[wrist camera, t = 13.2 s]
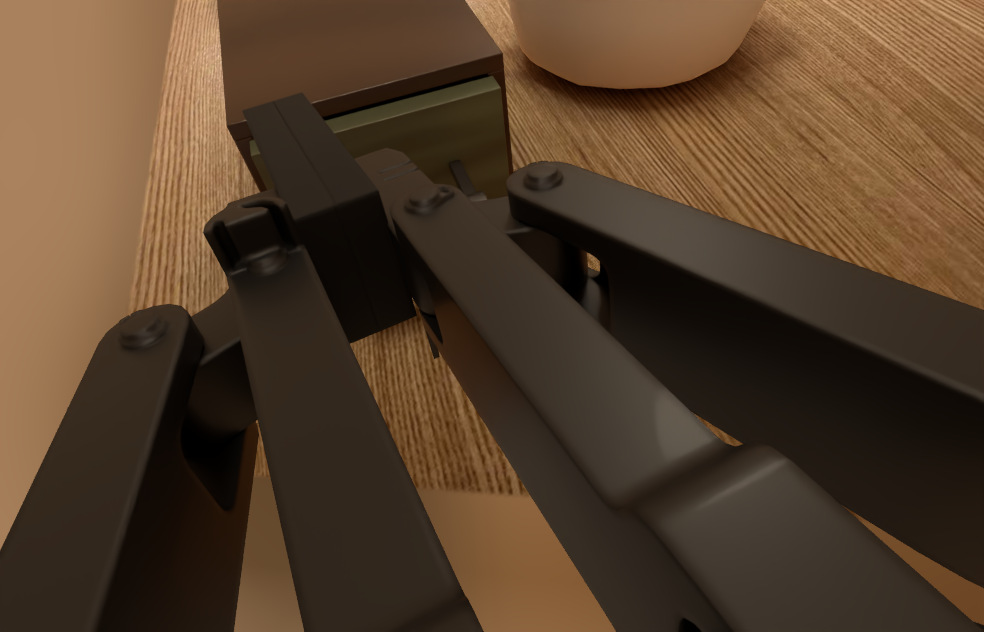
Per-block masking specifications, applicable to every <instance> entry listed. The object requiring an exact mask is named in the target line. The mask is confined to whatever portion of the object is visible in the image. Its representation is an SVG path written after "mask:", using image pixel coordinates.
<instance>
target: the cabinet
mask: <svg viewBox="0 0 984 632" xmlns="http://www.w3.org/2000/svg"><path fill="white" fill-rule="evenodd" d="M217 4H218V17H219V30H220V43H221V56H222V70H223V83H224V96H225V109H226V122H227V128H228V130H229V132H230V134H231V136H232V138H233V140H234V141H235V143H236V145H237V147H238V149H239V151H240V153H241V155H242V157H243V159H244V161H245V163H246V165H247V167H248V169H249V171H250V173H251V175H252V177H253V179H254V181H255V183H256V185H257V187H258V189H259V191H260V192H263V191H266V190H267V188H266V186H265V184H264V182H263V180H262V177H261V175H260V173H259V171H258V169H257V167H256V165H255V163H254V161H253V159H252V157H251V152H250V143H249V141H251V140H254V138H253V136H252V133H251V131H250V128H249V126H248V124H247V121H246V119H245V117H244V114H243V112H242V110H245V109H248V108H252V107H255V106H258V105H262V104H265V103H268V102H271V101H275V100H278V99H281V98H285V97H288V96H291V95H294V94H298V93H301V92H302V93H303V94H304V95H305V96H306V98H307V99H308V100H309V102H310V103H311V104H312V105H313V107H314V108H315V109H316V111H317V112H318V113H319V114H320V116H321V117H326V116H329V115H333V114H337V113H341V112H344V111H348V110H352V109H355V108H359V107H363V106H367V105H370V104H374V103H378V102H382V101H385V100H389V99H393V98H397V97H400V96H404V95H408V94H412V93H415V92H419V91H423V90H426V89H430V88H434V87H438V86H441V85H445V84H449V83H453V82H456V81H460V80H464V79H468V78H471V77H472V81H475V80H478V79H482V78H486V77H490V76H493V77H494V79H495V80H496V82H497V83H498V85H499V86H500V88H501V96H502V106H503V117H504V127H505V137H506V148H507V158H508V168H509V176H510V175H511V174H512V173H513V164H512V153H511V142H510V131H509V120H508V108H507V97H506V86H505V75H504V64H503V53H502V52H501V50H500V49H499V47H498V46H497V45H496V43H495V42H494V40H493V39H492V38H491V36H490V35H489V34H488V32H487V31H486V29H485V28H484V27H483V25H482V24H481V22H480V21H479V20H478V18H477V17H476V15H475V14H474V13H473V11H472V10H471V8H470V7H469V6H468V4H467V3H466V1H465V0H217Z"/></svg>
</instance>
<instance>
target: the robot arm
mask: <svg viewBox="0 0 984 632" xmlns="http://www.w3.org/2000/svg"><path fill="white" fill-rule="evenodd" d="M242 112H243V114H244V117H245V119H246V121H247V124H248V126H249V128H250V131H251V133H252V136H253V138H254V140H255V143H256V145H257V147H258V150H259V152H260V154H261V157H262V159H263V161H264V164H265V166H266V168H267V171H268V173H269V175H270V178H271V180H272V182H273V185H274V187H275V188H272V189H269V190H266V191H263V192H260V193H257V194H254V195H251V196H248V197H246V198H243V199H240V200H237V201H234V202H231V203H228V205H227V207H226V208H225V209H224V210H222V211H221V212H219V213H218V214H216V215H214V216H213V217H212V218H211V219H210V220H209V221H208V222H207V224H206V225H205V228H204V232H203V233H204V235H205V237H206V239H207V241H208V243H209V245H210V246H211V248H212V250H213V252H214V254H215V256H216V258H217V259H218V261H219V263H220V265H221V267H222V269H223V271H224V272H225V274H226V276H227V281H228V286H229V289H228V290H227V292H226V293H225V294H224V295H223V296H222V297H221V298H219V299H218V300H217V301H216V302H214V303H213V304H211V305H210V306H208V307H207V308H205V309H204V310H202V311H200V312H198V313H197V314H195V315H193V316H192V317H191V316H190V315H189V313H188V312H187V311H186V310H185V309H184V308H183V307H182V306H178V305H172V304H166V305H159V306H153V307H150V308H147V309H144V310H139V311H136V312H134V313H132V314H131V316H129V315H128V316H126V317H125V318H123V319H122V320H120V321H119V323H118V324H116V325H115V326H114V327H113V328H111V329H110V330H109V331H108V332H107V333H106V334H105V336H104V337H103V338H102V340H101V341H100V342H99V344H98V346H97V348H96V350H95V353H94V354H93V357H92V359H91V361H90V363H89V365H88V367H87V370H86V371H85V374H84V376H83V378H82V380H81V382H80V384H79V386H78V388H77V390H76V392H75V394H74V397H73V399H72V401H71V403H70V405H69V407H68V409H67V412H66V414H65V416H64V418H63V420H62V422H61V424H60V426H59V428H58V430H57V432H56V435H55V437H54V439H53V441H52V443H51V445H50V447H49V449H48V451H47V454H46V455H45V458H44V460H43V462H42V464H41V466H40V468H39V470H38V472H37V474H36V477H35V479H34V481H33V483H32V485H31V487H30V489H29V491H28V493H27V495H26V498H25V500H24V502H23V504H22V506H21V508H20V510H19V513H18V514H17V517H16V519H15V521H14V523H13V525H12V527H11V529H10V532H9V533H8V535H7V538H6V540H5V542H4V544H3V546H2V548H1V550H0V632H234V625H235V617H236V609H237V601H238V594H239V586H240V578H241V570H242V562H243V554H244V546H245V538H246V531H247V523H248V515H249V507H250V499H251V492H252V484H253V476H254V468H255V460H256V452H257V445H258V437H259V433H258V426H257V424H256V422H255V421H256V420H258V422H259V427H260V431H261V436H262V441H263V445H264V450H265V454H266V459H267V463H268V468H269V472H270V477H271V481H272V485H273V490H274V495H275V500H276V504H277V508H278V513H279V517H280V523H281V527H282V532H283V536H284V541H285V545H286V550H287V554H288V559H289V563H290V568H291V572H292V577H293V582H294V586H295V591H296V595H297V600H298V604H299V609H300V614H301V618H302V623H303V627H304V632H484V631H483V630H482V627H481V625H480V623H479V621H478V619H477V617H476V614H475V612H474V610H473V608H472V606H471V604H470V603H469V600H468V599H467V597H466V596H465V594H464V592H463V590H462V588H461V586H460V584H459V582H458V580H457V578H456V575H455V573H454V571H453V569H452V567H451V565H450V562H449V560H448V558H447V556H446V554H445V551H444V549H443V547H442V545H441V543H440V540H439V538H438V536H437V534H436V532H435V530H434V527H433V525H432V523H431V521H430V519H429V517H428V514H427V512H426V510H425V508H424V505H423V503H422V501H421V499H420V497H419V495H418V492H417V490H416V488H415V486H414V484H413V481H412V479H411V477H410V475H409V473H408V471H407V468H406V466H405V464H404V462H403V460H402V457H401V455H400V453H399V451H398V449H397V446H396V444H395V442H394V440H393V438H392V436H391V433H390V431H389V429H388V427H387V425H386V422H385V420H384V418H383V416H382V414H381V412H380V409H379V407H378V405H377V403H376V401H375V398H374V396H373V394H372V392H371V390H370V388H369V385H368V383H367V381H366V379H365V377H364V374H363V372H362V370H361V368H360V366H359V363H358V361H357V359H356V357H355V355H354V353H353V350H352V348H351V346H350V343H352V342H355V341H357V340H360V339H362V338H365V337H367V336H369V335H372V334H374V333H377V332H379V331H381V330H384V329H386V328H389V327H391V326H393V325H396V324H398V323H401V322H403V321H405V320H408V319H410V318H413V317H415V316H417V314H416V310H415V307H414V304H413V301H412V298H413V300H414V301H415V303H416V304H417V306H418V307H419V310H420V314H421V317H422V320H423V323H424V327H425V330H426V333H427V337H428V340H429V343H430V347H431V350H432V353H433V356H434V359H435V358H437V357H440V356H439V352H440V353H441V355H442V356H443V358H444V360H445V361H446V363H447V364H448V366H449V368H450V369H451V371H452V372H453V374H454V375H455V377H456V379H457V380H458V382H459V383H460V385H461V386H462V388H463V390H464V391H465V393H466V394H467V396H468V398H469V399H470V401H471V402H472V404H473V405H474V407H475V409H476V410H477V412H478V413H479V415H480V417H481V418H482V420H483V421H484V423H485V424H486V426H487V428H488V429H489V431H490V432H491V434H492V435H493V437H494V439H495V440H496V442H497V443H498V445H499V447H500V448H501V450H502V451H503V453H504V454H505V456H506V458H507V459H508V461H509V462H510V464H511V465H512V467H513V469H514V470H515V472H516V473H517V475H518V477H519V478H520V480H521V481H522V483H523V484H524V486H525V488H526V489H527V491H528V492H529V494H530V495H531V497H532V499H533V500H534V502H535V503H536V505H537V506H538V508H539V510H540V511H541V513H542V514H543V516H544V518H545V519H546V521H547V522H548V524H549V525H550V527H551V529H552V530H553V532H554V533H555V535H556V536H557V538H558V540H559V541H560V543H561V544H562V546H563V548H564V549H565V551H566V552H567V554H568V556H569V557H570V559H571V560H572V562H573V563H574V565H575V566H576V568H577V570H578V571H579V573H580V574H581V576H582V577H583V579H584V581H585V582H586V584H587V586H588V587H589V589H590V590H591V592H592V593H593V595H594V596H595V598H596V600H597V601H598V603H599V604H600V606H601V608H602V609H603V611H604V612H605V614H606V616H607V617H608V619H609V620H610V622H611V623H612V625H613V627H614V629H615V630H616V632H984V625H981V624H979V623H976V622H973V621H972V620H971V619H969V618H968V617H967V616H966V615H965V614H964V613H962V612H961V611H960V610H959V609H958V608H957V607H956V606H955V605H954V604H952V603H951V602H950V601H949V600H948V599H947V598H946V597H945V596H944V595H942V594H941V593H940V592H939V591H938V590H937V589H936V588H934V587H933V586H932V585H931V584H930V583H929V582H928V581H927V580H925V579H924V578H923V577H922V576H921V575H920V574H919V573H918V572H916V571H915V570H914V569H913V568H912V567H911V566H910V565H909V564H907V563H906V562H905V561H904V560H903V559H902V558H900V557H899V556H898V555H897V554H896V553H895V552H894V551H893V550H892V549H890V548H889V547H888V546H887V545H886V544H885V543H884V542H883V541H881V540H880V539H879V538H878V537H877V536H876V535H875V534H874V533H872V532H871V531H870V530H869V529H868V528H867V527H866V526H865V525H863V524H862V523H861V522H860V521H859V520H858V519H857V518H856V517H854V516H853V515H852V514H851V513H850V512H849V511H848V510H847V509H845V508H844V507H843V506H845V507H846V508H848V509H849V510H851V511H853V512H854V513H856V514H857V515H859V516H861V517H862V518H864V519H866V520H867V521H869V522H870V523H872V524H874V525H875V526H877V527H878V528H880V529H882V530H883V531H885V532H887V533H888V534H890V535H892V536H893V537H895V538H896V539H898V540H899V541H901V542H903V543H904V544H906V545H908V546H909V547H911V548H913V549H914V550H916V551H917V552H919V553H921V554H923V555H924V556H926V557H928V558H930V559H931V560H933V561H935V562H937V563H938V564H940V565H942V566H943V567H945V568H947V569H949V570H950V571H952V572H954V573H956V574H958V575H959V576H961V577H963V578H965V579H966V580H968V581H971V582H973V583H974V584H977V585H979V586H981V587H983V588H984V310H982V309H979V308H976V307H973V306H971V305H968V304H965V303H962V302H959V301H956V300H954V299H951V298H948V297H945V296H942V295H939V294H937V293H934V292H931V291H928V290H925V289H923V288H920V287H917V286H914V285H911V284H908V283H906V282H903V281H900V280H897V279H894V278H891V277H889V276H886V275H883V274H880V273H877V272H874V271H872V270H869V269H866V268H863V267H860V266H857V265H855V264H852V263H849V262H846V261H843V260H840V259H838V258H835V257H832V256H829V255H826V254H823V253H821V252H818V251H815V250H812V249H809V248H806V247H804V246H801V245H798V244H795V243H792V242H789V241H787V240H784V239H781V238H778V237H775V236H773V235H770V234H767V233H764V232H761V231H758V230H756V229H753V228H750V227H747V226H744V225H741V224H739V223H736V222H733V221H730V220H727V219H724V218H722V217H719V216H716V215H713V214H710V213H707V212H705V211H702V210H699V209H696V208H693V207H690V206H688V205H685V204H682V203H679V202H676V201H673V200H671V199H668V198H665V197H662V196H659V195H656V194H654V193H651V192H648V191H645V190H642V189H639V188H637V187H634V186H631V185H628V184H625V183H623V182H620V181H617V180H614V179H611V178H608V177H606V176H603V175H600V174H597V173H594V172H591V171H589V170H586V169H583V168H580V167H577V166H574V165H572V164H568V163H563V162H548V161H539V162H538V163H536V162H535V163H531V164H528V166H525V167H523V168H520V169H518V170H517V171H515V172H514V173H512V174H511V175H510V176H509V178H508V179H507V181H506V187H507V193H508V196H505V197H499V198H494V199H489V200H482V201H471V200H470V199H469V198H468V197H467V196H466V195H465V194H464V193H463V192H462V191H461V190H460V189H458V188H456V187H454V186H452V185H446V184H434V183H433V182H432V181H431V180H430V179H429V178H428V177H427V176H426V175H425V174H424V173H423V172H422V171H421V170H420V169H418V167H417V166H416V165H415V164H414V163H413V162H412V161H411V160H410V159H409V158H408V157H407V156H406V155H405V154H404V153H403V152H400V151H397V150H393V149H390V148H384V149H381V150H378V151H375V152H372V153H369V154H366V155H364V156H361V157H358V158H355V159H354V158H353V157H352V155H351V154H350V153H349V152H348V150H347V149H346V148H345V146H344V145H343V144H342V143H341V141H340V140H339V139H338V138H337V136H336V135H335V134H334V132H333V131H332V130H331V129H330V127H329V126H328V125H327V123H326V122H325V121H324V120H323V118H322V117H321V116H320V114H319V113H318V112H317V111H316V109H315V108H314V107H313V105H312V104H311V103H310V102H309V100H308V99H307V98H306V96H305V95H304V94H303V93H302V92H301V93H298V94H294V95H291V96H288V97H285V98H281V99H278V100H275V101H271V102H268V103H265V104H262V105H258V106H255V107H252V108H248V109H245V110H242ZM587 252H588V253H590V254H592V255H593V256H594V257H596V258H597V259H598V260H599V261H600V272H598V271H595V270H593V269H591V268H589V267H588V261H587ZM438 350H439V352H438ZM692 412H693V413H694V414H696V415H698V416H699V417H701V418H703V419H704V420H706V421H707V422H709V423H711V424H712V425H714V426H715V427H717V428H719V429H720V430H722V431H724V432H725V433H727V434H728V435H730V436H732V437H733V438H735V439H736V440H738V441H740V442H741V443H743V445H739V446H736V447H735V446H732V445H729V444H726V443H725V442H724V441H722V440H721V439H720V438H718V437H717V436H716V435H715V434H714V433H713V432H712V431H711V430H710V429H708V428H707V427H706V426H705V425H704V424H703V423H702V422H701V421H700V420H699V419H698V418H697V417H696V416H695V415H694V414H693V413H692ZM842 505H843V506H842Z"/></svg>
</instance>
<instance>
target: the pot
mask: <svg viewBox="0 0 984 632" xmlns="http://www.w3.org/2000/svg"><path fill="white" fill-rule="evenodd" d="M764 2H765V0H509V5H510V12H511V17H512V20H513V24H514V28H515V31H516V35H517V39H518V42H519V46H520V49H521V50H522V52H523V53H524V54H525V55H526V56H527V57H528V58H529V60H530V61H532V62H533V63H535V64H536V65H538V66H540V67H542V68H544V69H545V70H547V71H549V72H551V73H553V74H555V75H557V76H559V77H562V78H564V79H566V80H568V81H571V82H573V83H575V84H578V85H583V86H593V87H604V88H615V89H635V88H662V87H665V86H669V85H673V84H677V83H681V82H685V81H689V80H692V79H694V78H696V77H698V76H700V75H702V74H704V73H706V72H708V71H710V70H712V69H714V68H716V67H718V66H720V65H722V64H723V63H725V62H726V61H727V60H728V59H729V58H730V57H731V56H732V54H733V53H734V52H735V51H736V50H737V49H738V48H739V46H740V45H741V43H742V41H743V40H744V38H745V36H746V34H747V33H748V31H749V29H750V27H751V25H752V24H753V22H754V20H755V18H756V16H757V15H758V13H759V11H760V9H761V8H762V6H763V4H764Z"/></svg>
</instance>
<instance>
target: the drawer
mask: <svg viewBox="0 0 984 632" xmlns="http://www.w3.org/2000/svg"><path fill="white" fill-rule="evenodd" d="M322 118H323V120H324V121H325V122H326V123H327V125H328V126H329V127H330V129H331V130H332V131H333V132H334V134H335V135H336V136H337V138H338V139H339V140H340V141H341V143H342V144H343V145H344V146H345V148H346V149H347V150H348V152H349V153H350V154H351V155H352V157H353V158H354V159H355V158H358V157H361V156H364V155H366V154H369V153H372V152H375V151H378V150H381V149H384V148H390V149H393V150H397V151H400V152H403V153H404V154H405V155H406V156H407V157H408V158H409V159H410V160H411V161H412V162H413V163H414V164H415V165H416V166H417V167H418V169H420V170H421V171H422V172H423V173H424V174H425V175H426V176H427V177H428V178H429V179H430V180H431V181H432V182H433V183H434V184H446V185H452V186H454V187H456V188H458V189H460V190H461V191H462V192H463V193H464V194H465V195H466V196H467V197H468V198H469V199H470V200H471V201H482V200H489V199H494V198H499V197H505V196H508V193H507V187H506V181H507V179H508V178H509V168H508V158H507V148H506V137H505V127H504V117H503V106H502V96H501V88H500V86H499V85H498V83H497V82H496V80H495V79H494V77H493V76H490V77H486V78H482V79H478V80H475V81H472V77H471V78H468V79H464V80H460V81H456V82H453V83H449V84H445V85H441V86H438V87H434V88H430V89H426V90H423V91H419V92H415V93H412V94H408V95H404V96H400V97H397V98H393V99H389V100H385V101H382V102H378V103H374V104H370V105H367V106H363V107H359V108H355V109H352V110H348V111H344V112H341V113H337V114H333V115H329V116H326V117H322ZM249 143H250V152H251V157H252V159H253V161H254V163H255V165H256V167H257V169H258V171H259V173H260V175H261V177H262V180H263V182H264V184H265V186H266V188H267V190H269V189H272V188H275V187H274V185H273V182H272V180H271V178H270V175H269V173H268V171H267V168H266V166H265V164H264V161H263V159H262V157H261V154H260V152H259V150H258V147H257V145H256V143H255V140H251V141H249Z"/></svg>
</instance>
